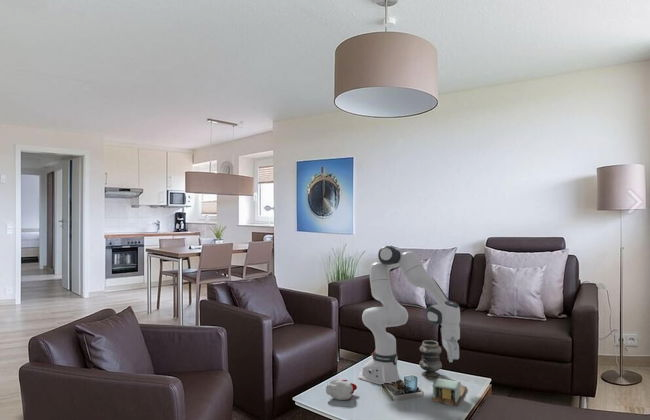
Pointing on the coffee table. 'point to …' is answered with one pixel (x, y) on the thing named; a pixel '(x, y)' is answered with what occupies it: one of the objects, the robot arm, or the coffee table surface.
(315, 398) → the coffee table surface
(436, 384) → the housing cover
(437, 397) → the housing base
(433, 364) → the apothecary jar
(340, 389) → the white red lumpy figurine
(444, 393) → the yellow cube
